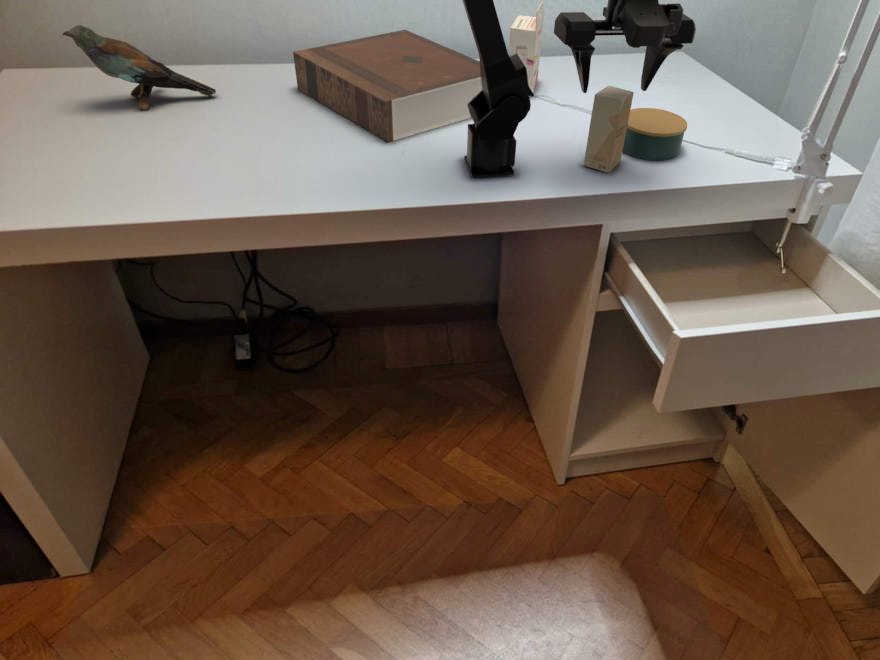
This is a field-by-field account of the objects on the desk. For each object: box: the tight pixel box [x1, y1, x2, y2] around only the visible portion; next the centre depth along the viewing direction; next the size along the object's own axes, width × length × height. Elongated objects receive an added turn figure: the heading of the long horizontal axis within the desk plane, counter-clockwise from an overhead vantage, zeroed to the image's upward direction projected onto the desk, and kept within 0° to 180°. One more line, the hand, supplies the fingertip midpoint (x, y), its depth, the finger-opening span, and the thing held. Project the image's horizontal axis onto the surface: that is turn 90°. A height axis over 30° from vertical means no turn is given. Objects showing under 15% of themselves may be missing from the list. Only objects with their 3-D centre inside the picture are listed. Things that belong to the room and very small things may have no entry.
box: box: [583, 85, 635, 173], centre depth 104 cm, size 5×4×11 cm
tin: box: [622, 107, 688, 161], centre depth 111 cm, size 10×10×4 cm
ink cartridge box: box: [508, 0, 545, 98], centre depth 126 cm, size 9×5×15 cm, turn 168°
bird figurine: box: [62, 24, 217, 111], centre depth 115 cm, size 13×10×20 cm
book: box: [292, 29, 482, 143], centre depth 122 cm, size 24×28×6 cm
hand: (613, 91), depth 100 cm, fingers open, 9 cm apart
